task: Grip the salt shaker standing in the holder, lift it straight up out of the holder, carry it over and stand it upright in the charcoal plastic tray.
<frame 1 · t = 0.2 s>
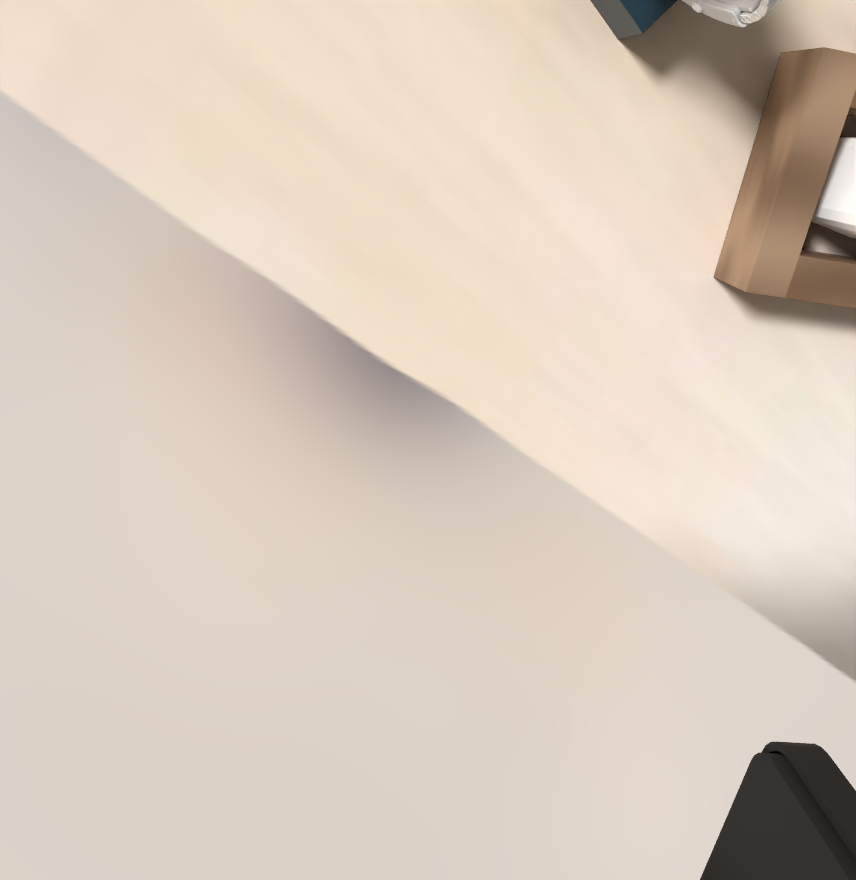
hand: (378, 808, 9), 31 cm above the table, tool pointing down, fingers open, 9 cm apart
salt shaker: (839, 187, 38), resting in shaker holder
shaker holder: (842, 187, 38), on the table
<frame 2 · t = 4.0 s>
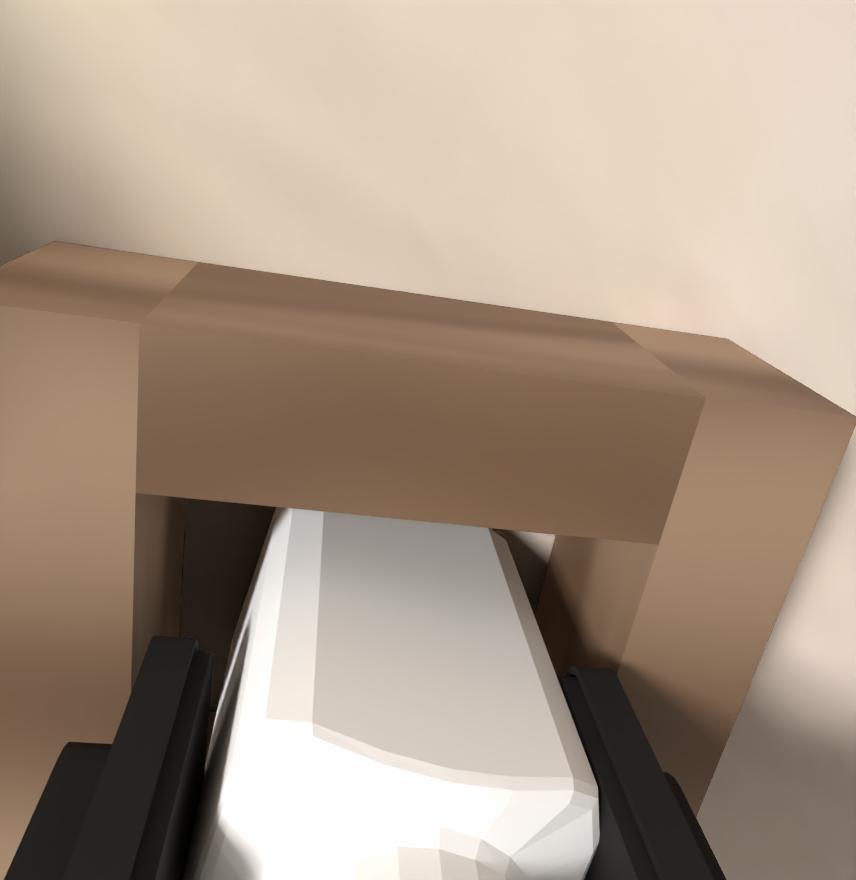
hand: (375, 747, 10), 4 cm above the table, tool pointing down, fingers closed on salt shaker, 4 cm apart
salt shaker: (367, 575, 14), resting in shaker holder, touching gripper
shaker holder: (367, 580, 14), on the table
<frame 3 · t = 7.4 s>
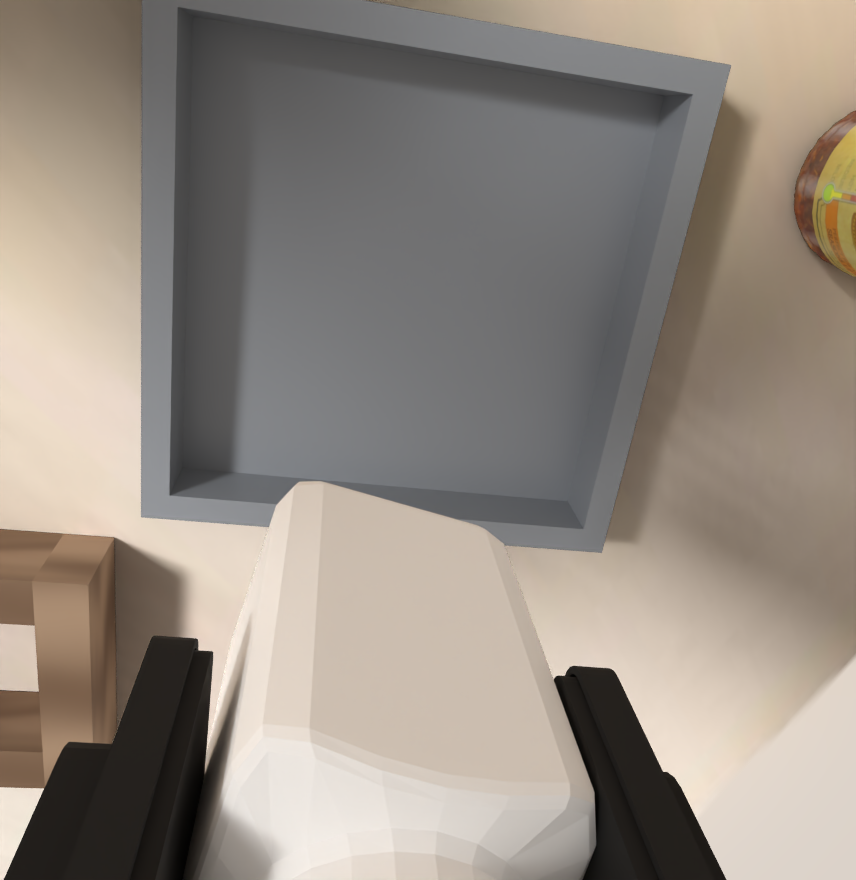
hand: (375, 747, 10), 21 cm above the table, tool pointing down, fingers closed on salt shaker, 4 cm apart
salt shaker: (365, 579, 14), point 17 cm above the table, touching gripper
tray: (406, 290, 29), on the table
when the fingers open (6 cm above the table, at t = 10.9 s): salt shaker drops 1 cm, resting on tray.
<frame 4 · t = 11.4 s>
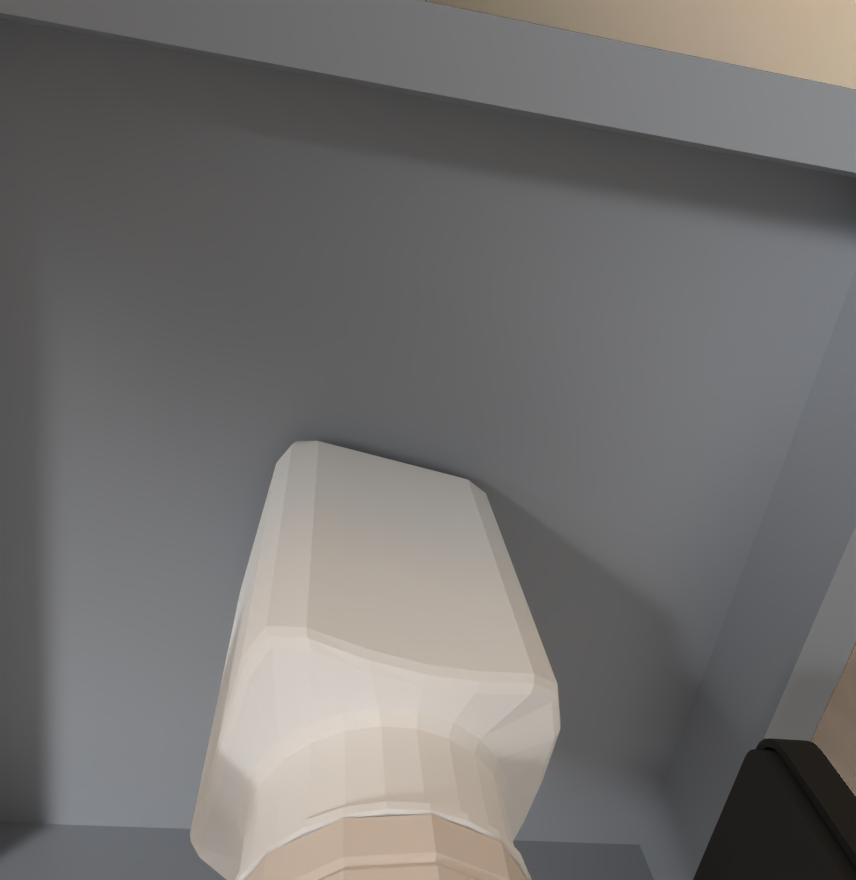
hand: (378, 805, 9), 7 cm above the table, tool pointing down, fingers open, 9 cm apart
salt shaker: (361, 532, 15), resting on tray
tray: (365, 524, 16), on the table
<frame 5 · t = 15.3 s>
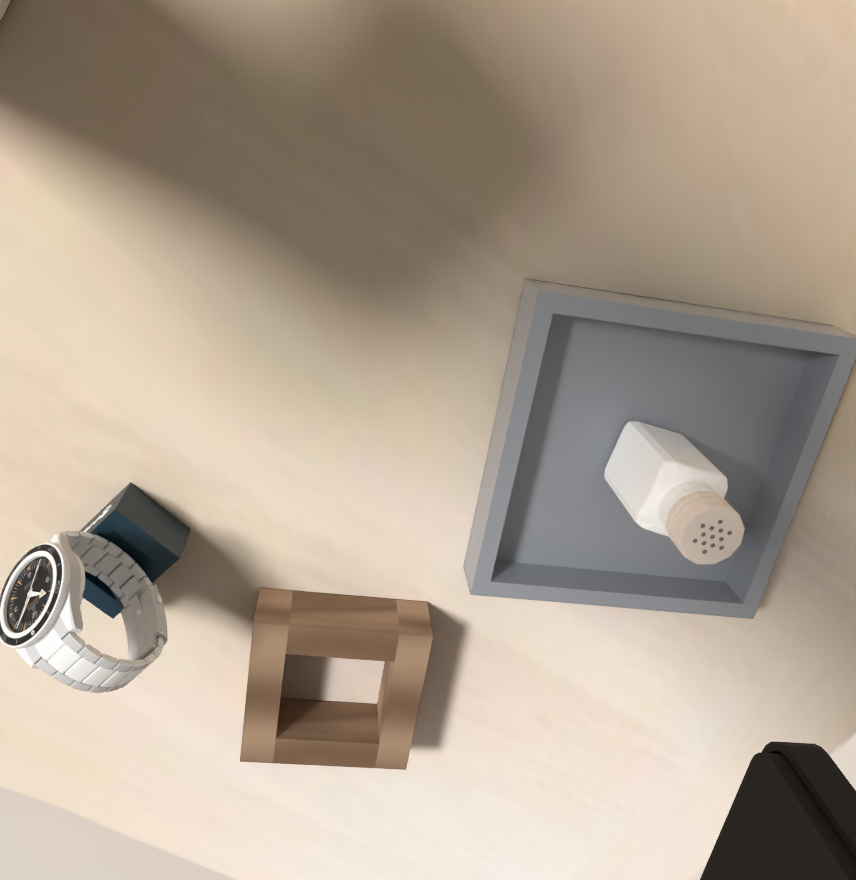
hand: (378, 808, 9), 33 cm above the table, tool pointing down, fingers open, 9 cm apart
watch: (127, 533, 45), on the table
salt shaker: (640, 452, 45), resting on tray
tray: (638, 451, 45), on the table
shaker holder: (334, 662, 49), on the table
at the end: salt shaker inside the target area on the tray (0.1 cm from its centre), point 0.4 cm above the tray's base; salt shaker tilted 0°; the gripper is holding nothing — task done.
